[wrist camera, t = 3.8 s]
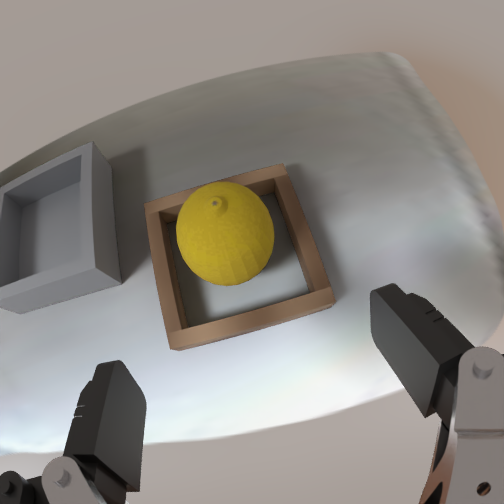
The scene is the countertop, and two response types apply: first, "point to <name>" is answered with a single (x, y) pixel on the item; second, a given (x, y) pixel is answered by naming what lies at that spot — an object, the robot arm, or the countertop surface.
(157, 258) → the cradle
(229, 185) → the lemon
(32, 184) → the holder
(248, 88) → the countertop surface
